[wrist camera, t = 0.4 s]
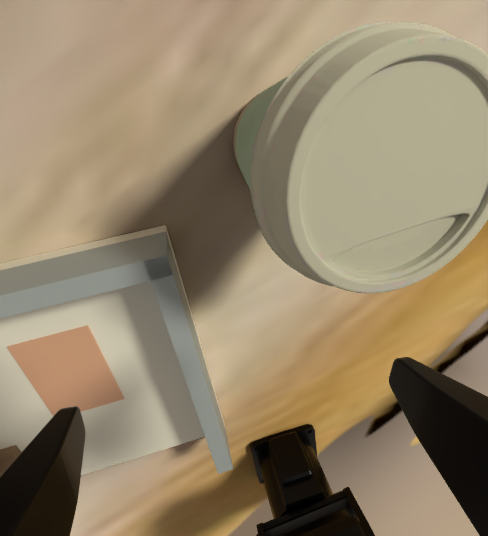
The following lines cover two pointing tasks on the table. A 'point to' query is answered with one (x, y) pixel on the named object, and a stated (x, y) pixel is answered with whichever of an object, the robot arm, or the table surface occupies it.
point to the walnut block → (8, 457)
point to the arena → (106, 351)
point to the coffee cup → (371, 156)
